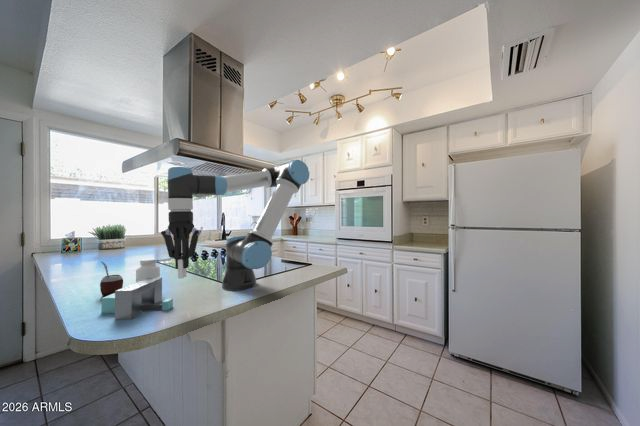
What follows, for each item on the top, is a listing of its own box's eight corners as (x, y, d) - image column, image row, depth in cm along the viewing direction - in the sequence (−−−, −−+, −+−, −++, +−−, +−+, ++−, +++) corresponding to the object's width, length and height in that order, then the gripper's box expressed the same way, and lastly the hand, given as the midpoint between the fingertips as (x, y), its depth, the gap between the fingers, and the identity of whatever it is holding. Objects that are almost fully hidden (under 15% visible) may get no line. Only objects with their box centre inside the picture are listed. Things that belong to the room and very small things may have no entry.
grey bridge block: (161, 301, 92) (162, 277, 92) (131, 319, 76) (131, 290, 76) (148, 301, 91) (148, 277, 91) (114, 319, 75) (115, 290, 75)
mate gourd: (120, 291, 103) (120, 256, 103) (125, 295, 98) (125, 259, 98) (97, 296, 97) (97, 259, 97) (100, 300, 92) (101, 261, 92)
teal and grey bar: (174, 305, 87) (174, 292, 87) (166, 311, 82) (166, 296, 82) (113, 307, 85) (113, 293, 85) (101, 313, 80) (101, 298, 80)
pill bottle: (150, 299, 93) (150, 261, 93) (130, 299, 93) (130, 261, 93) (164, 293, 101) (164, 257, 101) (145, 293, 101) (145, 257, 101)
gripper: (204, 210, 89) (205, 274, 89) (168, 211, 88) (169, 275, 88) (194, 210, 81) (196, 279, 81) (155, 211, 80) (156, 281, 81)
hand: (182, 277), depth 85 cm, fingers closed
